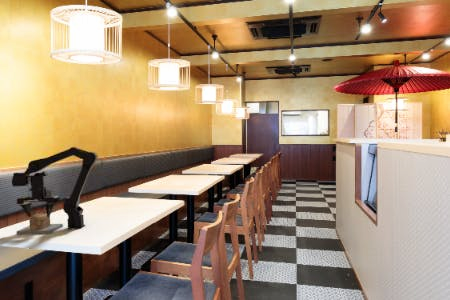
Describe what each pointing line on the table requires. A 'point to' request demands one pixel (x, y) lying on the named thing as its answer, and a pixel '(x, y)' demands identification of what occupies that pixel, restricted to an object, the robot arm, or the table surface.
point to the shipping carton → (39, 221)
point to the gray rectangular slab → (40, 231)
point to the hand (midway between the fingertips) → (39, 217)
